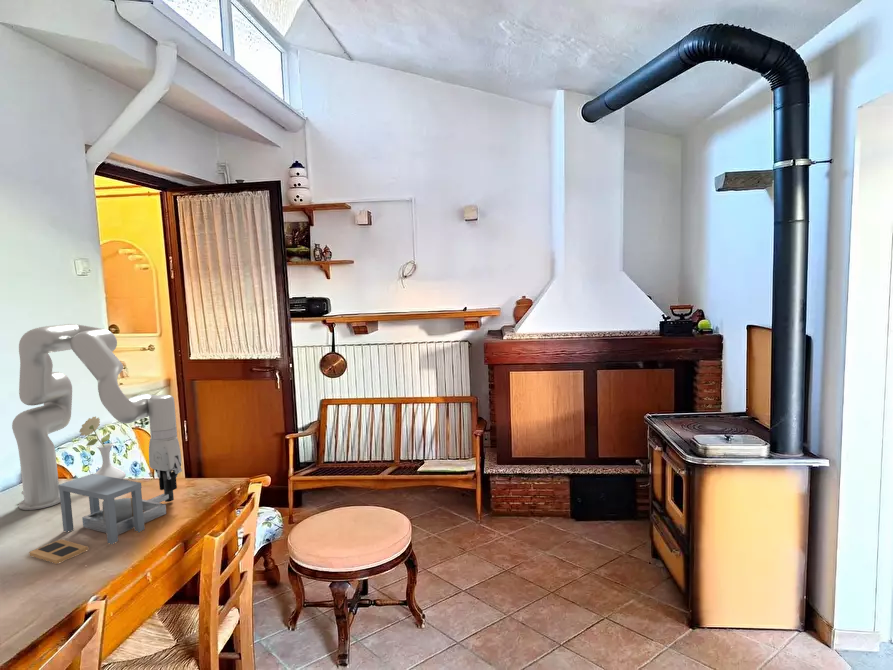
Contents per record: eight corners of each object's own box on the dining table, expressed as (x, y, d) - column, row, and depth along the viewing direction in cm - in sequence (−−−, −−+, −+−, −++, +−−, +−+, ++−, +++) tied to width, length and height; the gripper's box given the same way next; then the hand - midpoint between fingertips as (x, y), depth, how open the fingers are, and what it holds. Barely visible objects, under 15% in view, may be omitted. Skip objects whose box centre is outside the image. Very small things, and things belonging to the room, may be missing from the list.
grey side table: (62, 531, 162) (58, 484, 161) (97, 518, 171) (92, 473, 170) (111, 544, 153) (107, 495, 151) (145, 529, 162) (141, 482, 160)
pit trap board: (29, 555, 148) (29, 551, 148) (61, 542, 155) (60, 538, 155) (56, 564, 143) (56, 560, 143) (88, 550, 150) (87, 546, 150)
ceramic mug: (136, 524, 165) (134, 499, 165) (104, 531, 161) (101, 505, 160) (133, 513, 174) (130, 489, 173) (102, 520, 170) (100, 495, 169)
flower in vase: (117, 475, 211) (111, 409, 208) (132, 480, 204) (126, 413, 202) (78, 486, 200) (72, 417, 198) (93, 492, 193) (86, 421, 191)
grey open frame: (83, 527, 164) (79, 492, 163) (157, 497, 186) (154, 466, 185) (116, 535, 157) (112, 499, 156) (189, 503, 179) (186, 471, 178)
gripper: (136, 434, 179) (141, 490, 181) (170, 439, 172) (175, 497, 174) (157, 428, 186) (161, 482, 188) (191, 433, 179) (195, 488, 181)
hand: (168, 488), depth 181 cm, fingers closed on grey open frame, 2 cm apart
